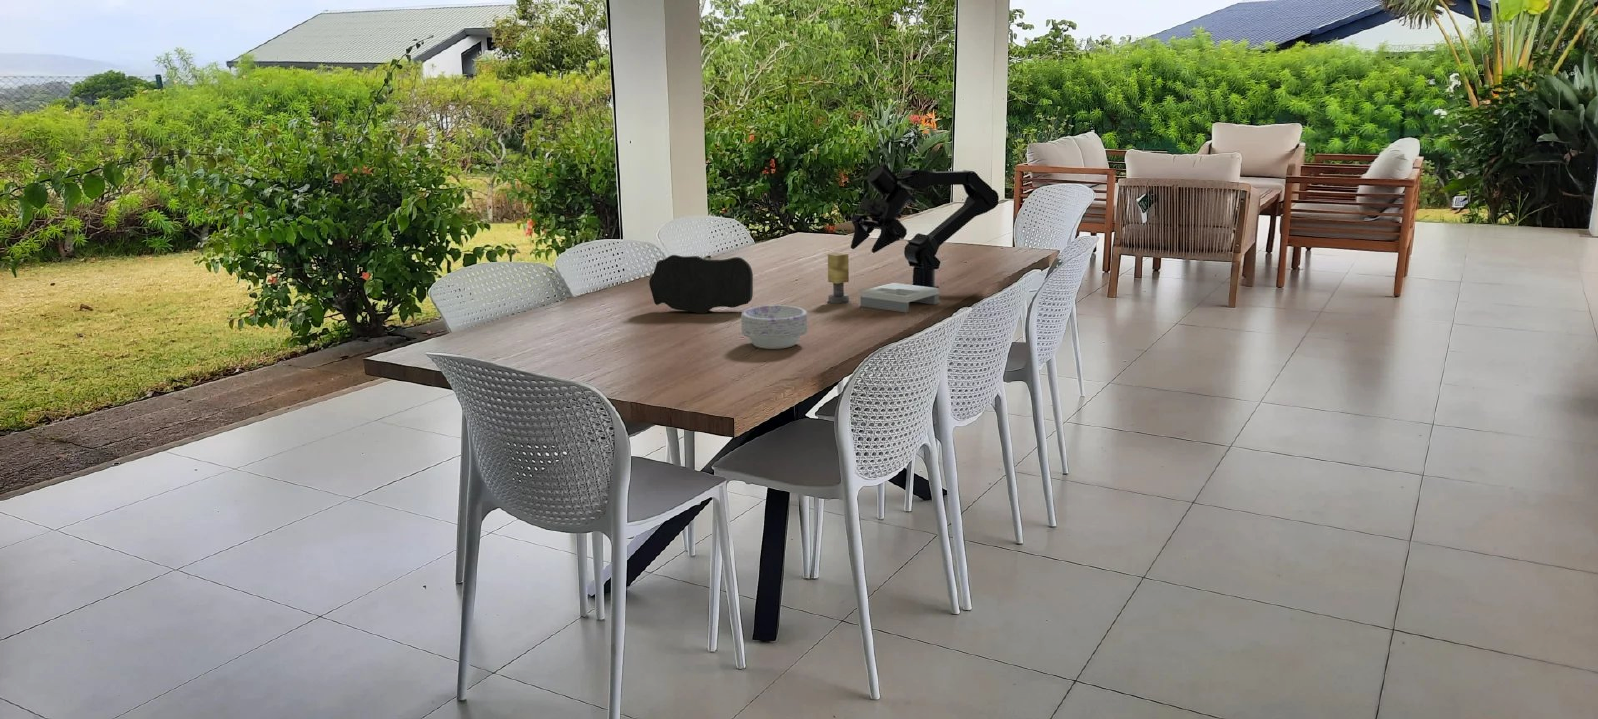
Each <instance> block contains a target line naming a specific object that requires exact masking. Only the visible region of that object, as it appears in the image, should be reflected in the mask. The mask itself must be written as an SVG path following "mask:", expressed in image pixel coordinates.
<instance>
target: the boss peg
mask: <svg viewBox="0 0 1598 719" xmlns="http://www.w3.org/2000/svg"><path fill="white" fill-rule="evenodd" d="M849 263H850V262H849V253H844V252H834V253H828V254H827V282H829V283H832V284H833V292H832V293H833V294H829V295H828V300H827V302H828V303H831V304H846V303H849V302H850V295H849V294H845V293H844V292H845V289H844V287H845V285H844V284H845V283H849V282H850V278H849V277H850V276H849V269H850V268H849V267H850V266H849V265H850V264H849Z"/></svg>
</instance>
